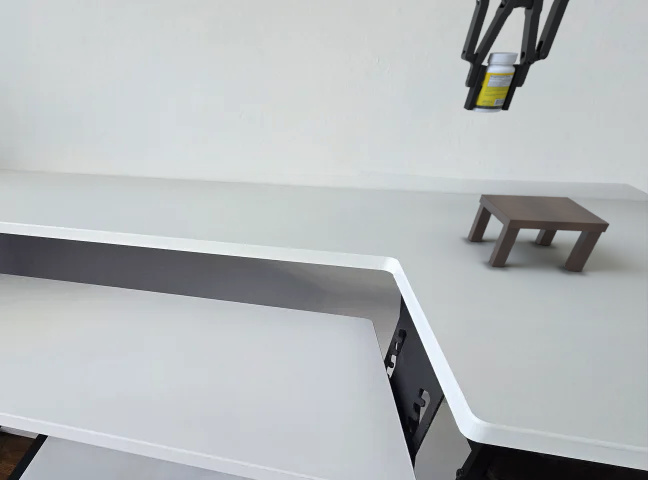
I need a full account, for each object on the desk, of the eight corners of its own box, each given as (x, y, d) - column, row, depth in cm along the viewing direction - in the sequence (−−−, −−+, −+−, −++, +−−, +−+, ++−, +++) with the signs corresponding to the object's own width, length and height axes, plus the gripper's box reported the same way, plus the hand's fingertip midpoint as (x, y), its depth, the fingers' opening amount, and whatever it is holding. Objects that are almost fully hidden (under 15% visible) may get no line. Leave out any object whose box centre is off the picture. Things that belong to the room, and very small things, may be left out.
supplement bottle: (468, 108, 88) (486, 52, 83) (499, 109, 86) (519, 52, 81) (469, 112, 84) (488, 54, 79) (501, 113, 83) (523, 53, 78)
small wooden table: (546, 241, 79) (567, 197, 75) (583, 272, 70) (609, 223, 66) (465, 237, 81) (481, 194, 77) (490, 267, 72) (510, 219, 68)
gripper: (487, -72, 70) (434, 112, 84) (632, -80, 67) (552, 113, 80) (471, -65, 76) (424, 105, 90) (603, -73, 72) (534, 106, 86)
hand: (485, 108), depth 85 cm, fingers closed on supplement bottle, 5 cm apart
